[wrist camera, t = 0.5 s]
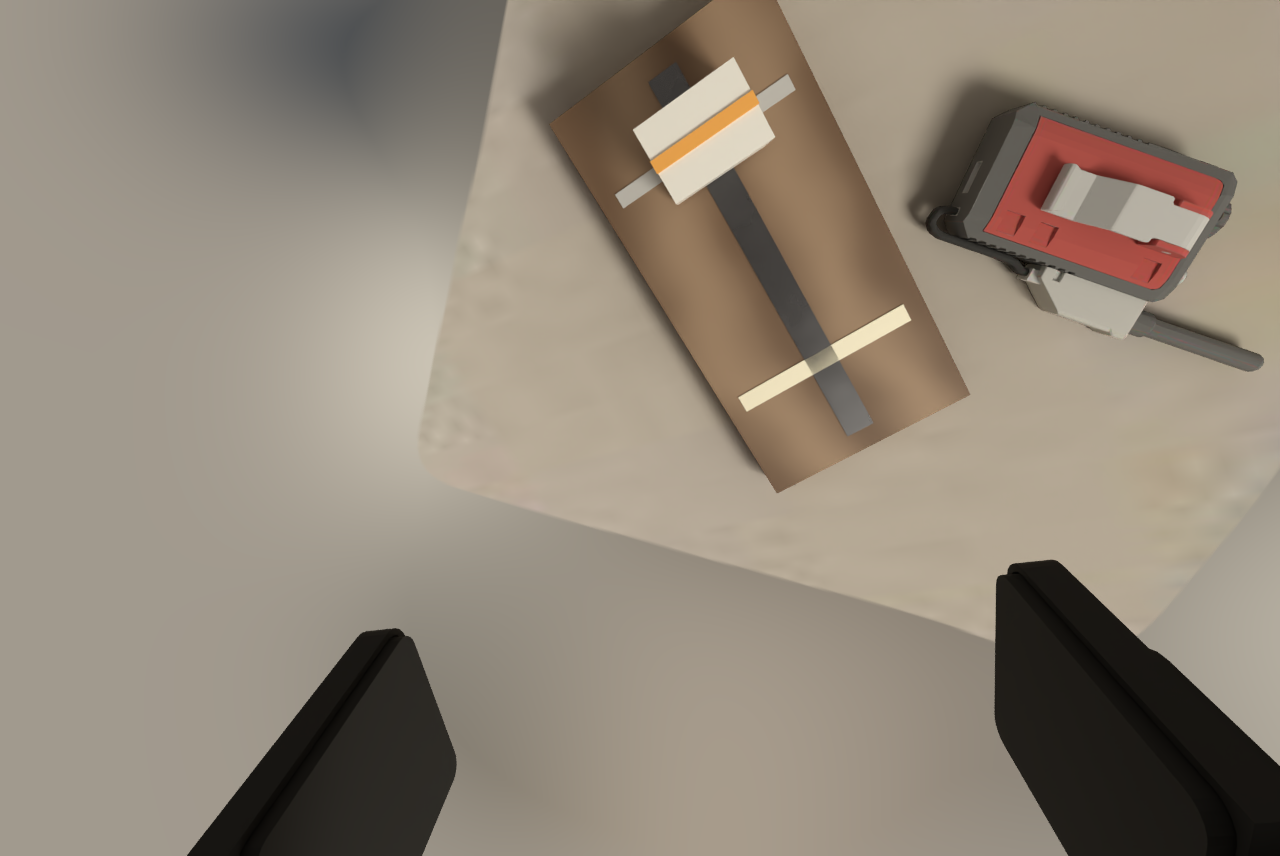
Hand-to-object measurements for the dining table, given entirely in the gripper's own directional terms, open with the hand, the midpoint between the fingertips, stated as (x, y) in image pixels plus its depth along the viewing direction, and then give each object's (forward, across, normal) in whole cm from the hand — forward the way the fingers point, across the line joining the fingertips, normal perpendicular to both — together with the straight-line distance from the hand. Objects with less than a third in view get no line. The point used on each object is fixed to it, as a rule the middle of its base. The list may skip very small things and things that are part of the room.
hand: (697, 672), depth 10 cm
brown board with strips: (+28, -4, -3) cm, 28 cm away
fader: (+25, -2, -10) cm, 27 cm away
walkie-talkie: (+28, -23, -1) cm, 36 cm away
